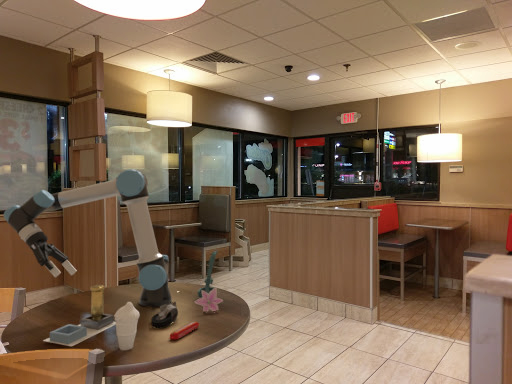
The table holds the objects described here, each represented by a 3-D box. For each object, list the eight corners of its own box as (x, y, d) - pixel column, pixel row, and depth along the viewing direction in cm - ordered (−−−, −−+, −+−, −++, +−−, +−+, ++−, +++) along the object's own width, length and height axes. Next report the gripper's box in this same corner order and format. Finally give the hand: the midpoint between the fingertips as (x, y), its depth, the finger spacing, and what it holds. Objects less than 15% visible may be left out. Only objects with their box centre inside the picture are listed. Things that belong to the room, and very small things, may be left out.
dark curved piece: (207, 308, 174) (226, 259, 175) (188, 299, 176) (207, 250, 177) (215, 302, 188) (232, 257, 189) (197, 294, 190) (215, 249, 191)
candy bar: (192, 326, 147) (193, 319, 147) (200, 328, 145) (200, 320, 145) (167, 341, 132) (167, 332, 132) (175, 343, 131) (175, 334, 131)
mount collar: (96, 319, 149) (96, 312, 149) (113, 322, 146) (113, 315, 146) (80, 326, 141) (80, 319, 141) (98, 329, 138) (98, 322, 138)
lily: (190, 314, 163) (193, 298, 159) (200, 297, 174) (204, 282, 169) (214, 324, 161) (218, 309, 157) (224, 307, 172) (227, 292, 167)
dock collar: (68, 332, 135) (68, 324, 135) (86, 335, 133) (87, 327, 133) (49, 340, 127) (49, 332, 127) (68, 344, 125) (68, 335, 125)
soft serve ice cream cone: (107, 350, 123) (108, 303, 123) (124, 341, 131) (125, 296, 131) (127, 354, 120) (128, 306, 120) (144, 345, 128) (144, 299, 128)
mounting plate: (93, 320, 150) (93, 318, 150) (119, 325, 146) (119, 322, 146) (42, 343, 127) (42, 340, 127) (71, 349, 123) (71, 346, 123)
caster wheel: (154, 335, 143) (151, 323, 152) (182, 326, 147) (177, 314, 156) (151, 320, 141) (148, 309, 150) (180, 311, 145) (175, 300, 154)
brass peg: (105, 321, 147) (105, 284, 147) (103, 326, 141) (103, 288, 141) (91, 322, 145) (92, 285, 145) (88, 327, 140) (89, 288, 140)
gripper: (43, 243, 164) (73, 278, 162) (7, 242, 139) (42, 283, 137) (56, 232, 165) (86, 266, 163) (23, 228, 140) (58, 268, 138)
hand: (66, 274), depth 150 cm, fingers open, 13 cm apart
